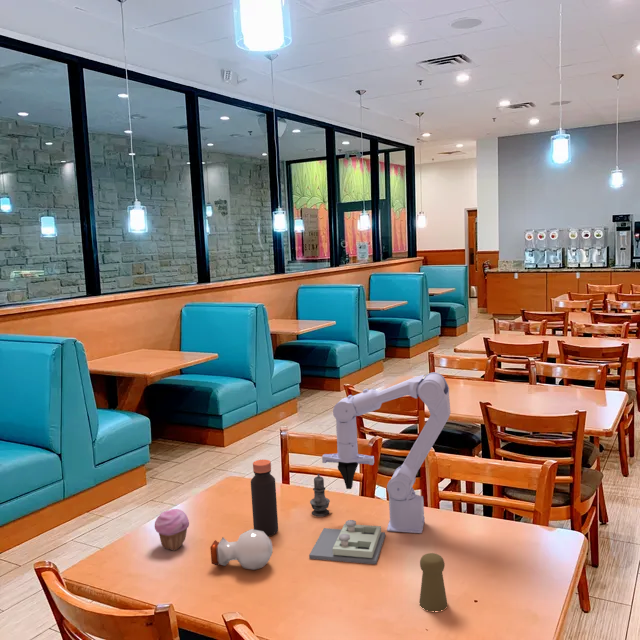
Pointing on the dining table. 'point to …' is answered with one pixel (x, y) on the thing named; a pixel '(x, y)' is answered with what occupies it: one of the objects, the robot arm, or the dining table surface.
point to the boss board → (330, 542)
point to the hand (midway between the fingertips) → (349, 487)
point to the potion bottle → (243, 550)
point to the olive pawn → (432, 583)
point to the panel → (358, 541)
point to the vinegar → (264, 498)
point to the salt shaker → (319, 498)
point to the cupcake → (172, 528)
